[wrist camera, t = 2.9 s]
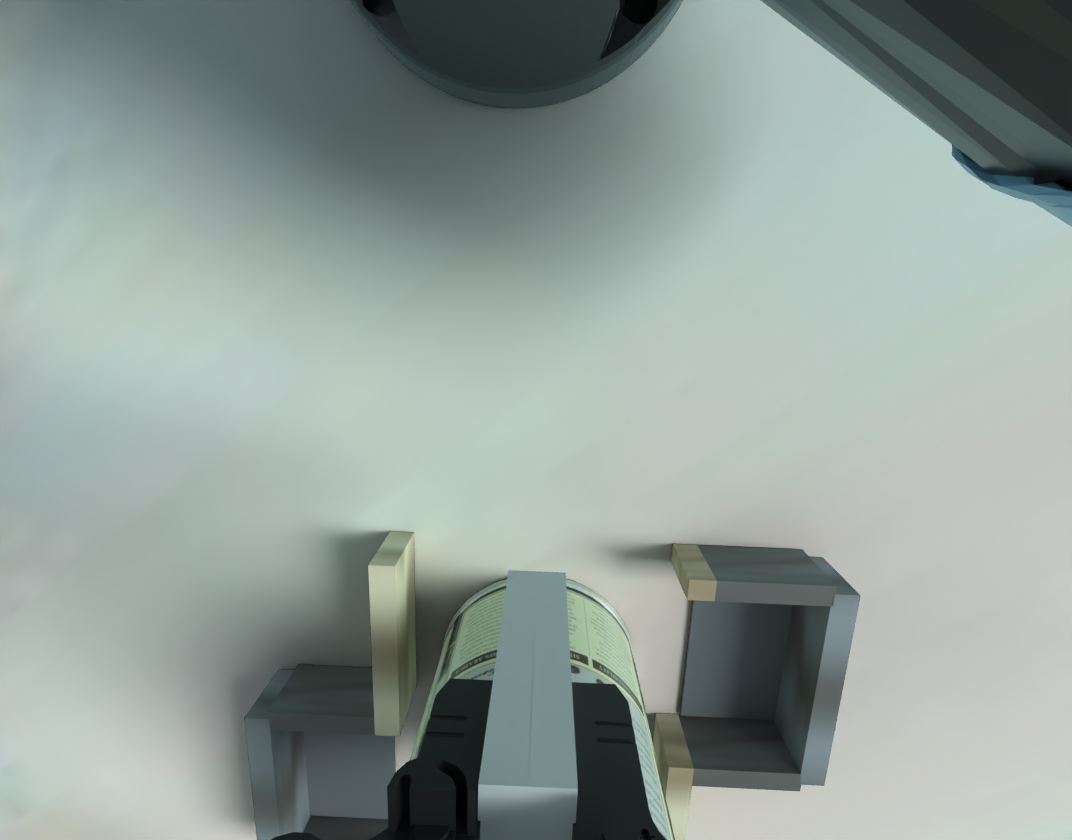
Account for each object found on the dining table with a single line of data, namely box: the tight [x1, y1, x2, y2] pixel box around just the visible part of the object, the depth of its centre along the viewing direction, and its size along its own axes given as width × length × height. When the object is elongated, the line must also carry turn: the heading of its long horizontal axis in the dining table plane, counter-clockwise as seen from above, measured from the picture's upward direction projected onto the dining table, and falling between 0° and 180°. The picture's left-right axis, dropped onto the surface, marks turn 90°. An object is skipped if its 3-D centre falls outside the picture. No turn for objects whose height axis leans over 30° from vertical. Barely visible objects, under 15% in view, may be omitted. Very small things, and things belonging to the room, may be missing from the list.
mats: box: [304, 600, 793, 819], centre depth 30 cm, size 17×26×1 cm, turn 88°
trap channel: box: [244, 531, 860, 840], centre depth 29 cm, size 24×28×4 cm
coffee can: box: [410, 579, 675, 840], centre depth 23 cm, size 10×10×14 cm
